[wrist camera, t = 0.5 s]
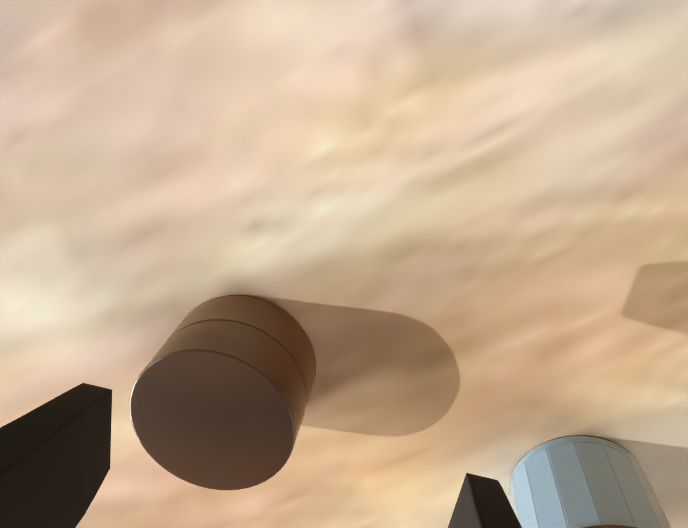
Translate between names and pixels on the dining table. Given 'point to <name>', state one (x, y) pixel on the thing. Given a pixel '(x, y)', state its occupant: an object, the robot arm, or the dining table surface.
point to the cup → (583, 487)
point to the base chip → (261, 327)
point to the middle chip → (219, 405)
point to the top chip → (610, 526)
